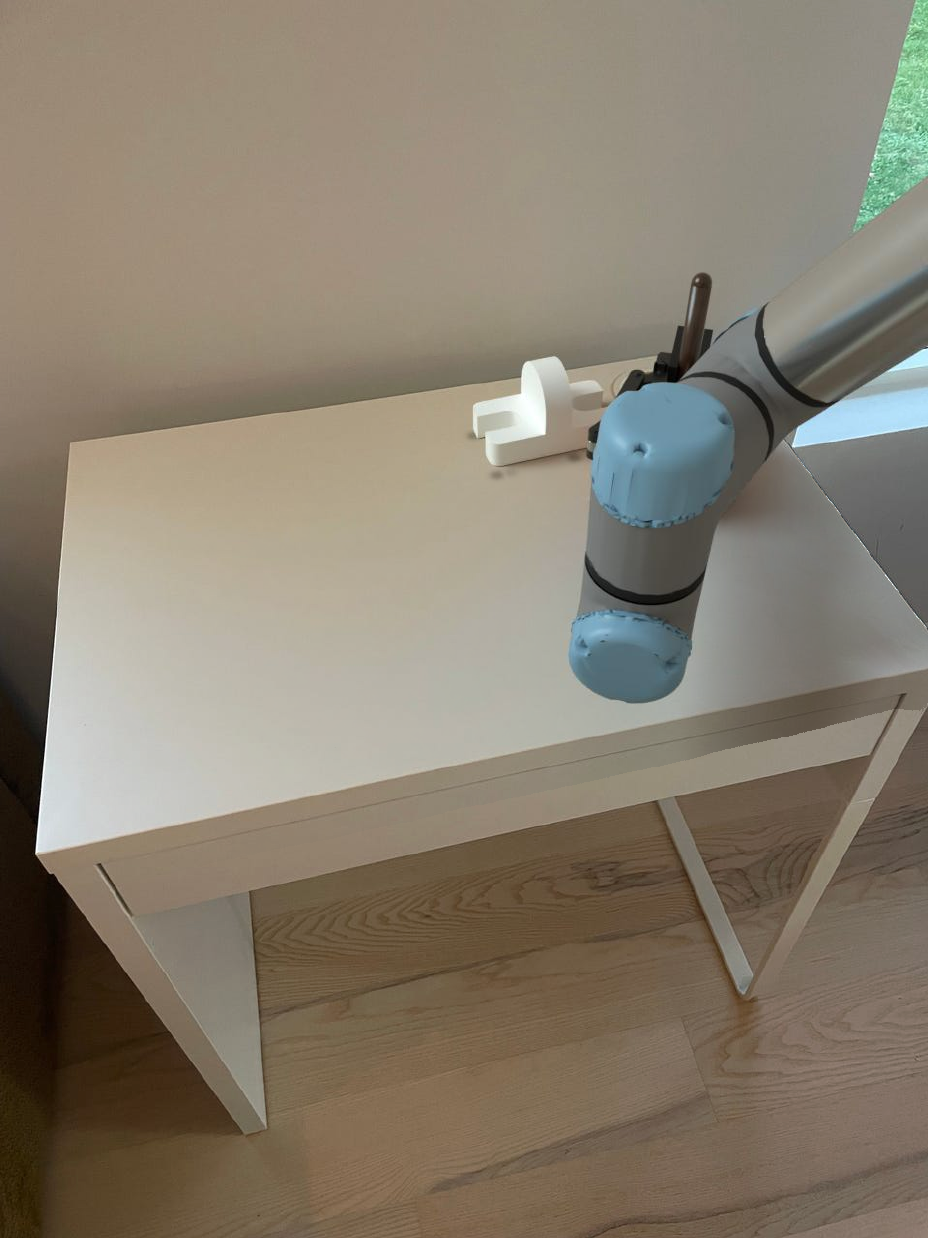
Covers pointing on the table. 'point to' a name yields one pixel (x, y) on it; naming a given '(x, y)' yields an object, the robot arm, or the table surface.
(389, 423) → the table surface
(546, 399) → the slotted bracket
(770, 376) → the robot arm
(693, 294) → the dark brown post
